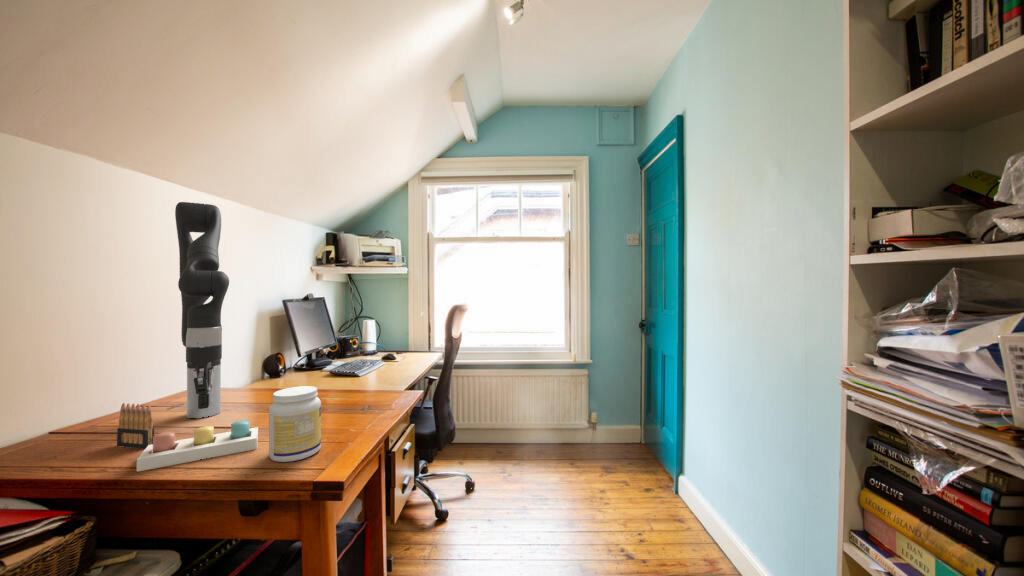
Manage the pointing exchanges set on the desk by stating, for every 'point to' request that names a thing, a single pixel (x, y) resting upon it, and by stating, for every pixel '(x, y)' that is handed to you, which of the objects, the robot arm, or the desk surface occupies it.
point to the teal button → (240, 429)
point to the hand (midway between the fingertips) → (203, 407)
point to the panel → (196, 450)
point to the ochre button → (204, 435)
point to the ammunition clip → (135, 426)
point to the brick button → (164, 442)
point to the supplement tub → (294, 424)
